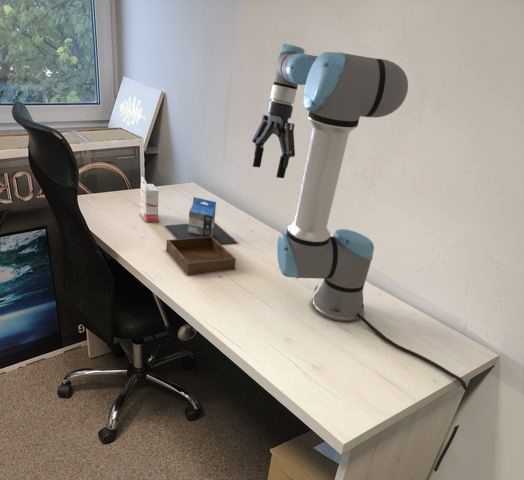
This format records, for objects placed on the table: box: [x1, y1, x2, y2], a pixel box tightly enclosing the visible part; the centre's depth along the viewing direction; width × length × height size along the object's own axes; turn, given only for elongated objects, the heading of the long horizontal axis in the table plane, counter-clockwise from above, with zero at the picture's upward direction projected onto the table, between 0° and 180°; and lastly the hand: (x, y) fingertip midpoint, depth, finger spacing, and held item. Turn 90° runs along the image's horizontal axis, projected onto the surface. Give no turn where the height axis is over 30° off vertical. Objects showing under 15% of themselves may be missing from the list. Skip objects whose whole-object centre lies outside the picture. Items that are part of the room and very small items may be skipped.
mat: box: [165, 222, 238, 246], centre depth 177 cm, size 20×20×1 cm
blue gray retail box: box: [188, 196, 217, 237], centre depth 174 cm, size 9×4×12 cm, turn 76°
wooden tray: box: [165, 236, 237, 276], centre depth 158 cm, size 19×17×4 cm
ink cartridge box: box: [140, 176, 159, 223], centre depth 180 cm, size 9×5×15 cm, turn 25°
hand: (267, 172), depth 161 cm, fingers open, 13 cm apart
